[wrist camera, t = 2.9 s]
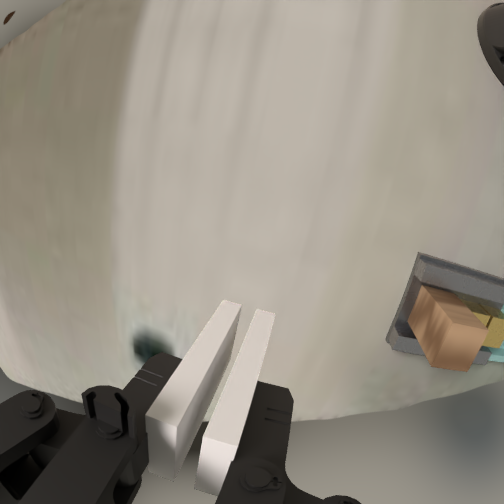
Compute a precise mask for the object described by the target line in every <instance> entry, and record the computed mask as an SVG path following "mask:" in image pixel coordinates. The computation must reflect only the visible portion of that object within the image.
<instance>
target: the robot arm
mask: <svg viewBox="0 0 504 504" xmlns="http://www.w3.org/2000/svg"><path fill="white" fill-rule="evenodd" d="M477 30H478V37H479V42H480V45H481V48H482V50H483V53H484V55H485V57H486V59H487V61H488V63H489V65H490V67H491V68H492V70H493V71H494V73H495V74H496V76H497V77H498V78H499V80H500V81H501V82H502V83H503V84H504V3H496V4H493V5H491V6H489V7H488V8H487V9H486V10H485V11H483V12H482V13H481V15H480V17H479V19H478V25H477ZM241 307H242V305H241V304H237V303H233V302H230V301H226V300H223V301H222V302H221V304H220V305H219V307H218V308H217V309H216V311H215V312H214V314H213V315H212V317H211V318H210V320H209V321H208V323H207V324H206V326H205V327H204V329H203V330H202V332H201V333H200V335H199V336H198V338H197V339H196V341H195V342H194V343H193V345H192V346H191V348H190V349H189V351H188V352H187V354H186V355H185V357H184V358H183V359H180V358H177V357H175V356H172V355H169V354H166V353H163V352H161V353H159V354H157V355H155V356H153V357H151V358H149V359H148V360H147V362H146V363H145V364H144V365H143V366H142V368H141V370H139V371H138V372H137V374H136V375H135V377H134V378H132V380H131V381H130V382H129V383H128V384H127V386H126V387H125V388H124V389H123V390H121V389H119V388H116V387H112V386H95V387H92V388H89V389H87V390H86V391H85V392H83V393H82V399H83V404H84V409H85V413H86V415H81V414H76V413H72V412H68V411H64V410H60V409H57V408H56V407H55V403H54V402H53V401H52V399H51V397H49V396H48V395H47V394H45V393H44V392H40V391H36V390H27V391H24V392H21V393H19V394H17V395H15V396H13V397H11V398H10V399H8V400H6V401H4V402H3V403H1V404H0V504H132V502H133V500H134V498H135V496H136V494H137V492H138V490H139V488H140V486H141V481H142V477H141V475H142V473H143V472H144V470H145V468H146V466H147V465H148V471H149V472H150V473H152V474H155V475H157V476H160V477H162V478H165V479H168V480H170V481H173V482H174V480H175V478H176V476H177V474H178V472H179V470H180V467H181V465H182V463H183V461H184V459H185V457H186V455H187V453H188V451H189V449H190V446H191V444H192V442H193V440H194V438H195V436H196V434H197V431H198V429H199V427H200V425H201V423H202V421H203V418H204V416H205V414H206V412H207V410H208V407H209V405H210V403H211V401H212V399H213V397H214V394H215V392H216V390H217V388H218V385H219V383H220V381H221V379H222V377H223V374H224V372H225V370H226V368H227V365H228V363H229V361H230V358H231V353H232V348H233V344H234V339H235V334H236V330H237V325H238V321H239V316H240V311H241ZM275 315H276V314H275V313H271V312H267V311H263V310H259V309H256V312H255V314H254V317H253V319H252V322H251V324H250V327H249V329H248V331H247V334H246V336H245V339H244V341H243V344H242V346H241V348H240V351H239V353H238V356H237V358H236V360H235V363H234V365H233V368H232V370H231V372H230V375H229V377H228V380H227V382H226V384H225V387H224V389H223V391H222V394H221V396H220V398H219V401H218V403H217V405H216V408H215V410H214V412H213V415H212V417H211V419H210V422H209V424H208V426H207V429H206V431H205V433H204V436H203V441H202V446H201V452H200V457H199V463H198V469H197V475H196V481H195V487H194V489H196V490H199V491H202V492H205V493H209V494H212V495H216V496H218V498H217V500H216V503H215V504H361V503H360V502H359V501H357V500H356V499H353V498H351V497H348V496H339V495H335V496H331V497H327V498H325V499H324V500H322V499H320V498H318V497H315V496H313V495H310V494H308V493H306V492H304V491H302V490H300V489H298V488H297V487H296V486H295V485H294V484H293V483H292V482H291V481H290V479H289V478H288V476H287V474H286V471H285V461H286V454H287V447H288V440H289V433H290V424H291V418H292V411H293V403H294V400H293V398H292V396H291V393H290V391H289V389H288V388H284V387H280V386H276V385H272V384H268V383H264V382H260V381H258V377H259V374H260V370H261V366H262V363H263V359H264V356H265V352H266V348H267V345H268V341H269V337H270V334H271V330H272V326H273V323H274V319H275Z"/></svg>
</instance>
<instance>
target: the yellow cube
mask: <svg viewBox="0 0 504 504" xmlns="http://www.w3.org/2000/svg"><path fill="white" fill-rule="evenodd" d="M479 306H480V307H482V308H483V309H484V310H485V311H486V312H487V313H488V314H489V315H490V319H489V321H488V323H487V325H486V328H487V329H488V330H489V331H488V334H487V336H486V338H485V340H484V342H483V344H482V346H487V347H493V348H500V346H501V344H502V342H503V340H504V313H503V312H502V311H501V310H499V309H497V308H493V307H489V306H486V305H482V304H480V305H479Z"/></svg>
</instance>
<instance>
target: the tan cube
mask: <svg viewBox="0 0 504 504" xmlns="http://www.w3.org/2000/svg"><path fill="white" fill-rule="evenodd" d="M460 300H461V301H462V302H463V303H464V304H465V305H466V306H467V307H468V308H469V309H470V310H471V312H472V313H473V314H474V315H475V316H476V317H477V318H478V319H479V320H480V321H481V322H482V323H483V324H484V325H485V327H486V325H487V323H488V321H489V319H490V315H489V314H488V313H487V312H486V311H485V310H484V309H483V308H482V307H480V306H479V305H478V304H477V303H474V302H470V301H466V300H463V299H460Z"/></svg>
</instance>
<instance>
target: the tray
mask: <svg viewBox="0 0 504 504" xmlns="http://www.w3.org/2000/svg"><path fill="white" fill-rule="evenodd" d="M501 311H502V312H503V313H504V304H503V306H502V309H501ZM488 348H489V350H490V351H491V352H492V354H491V356H490V358H489V361H496V362H504V340H503V342H502V344H501V346H500V348H493V347H488Z"/></svg>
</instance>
